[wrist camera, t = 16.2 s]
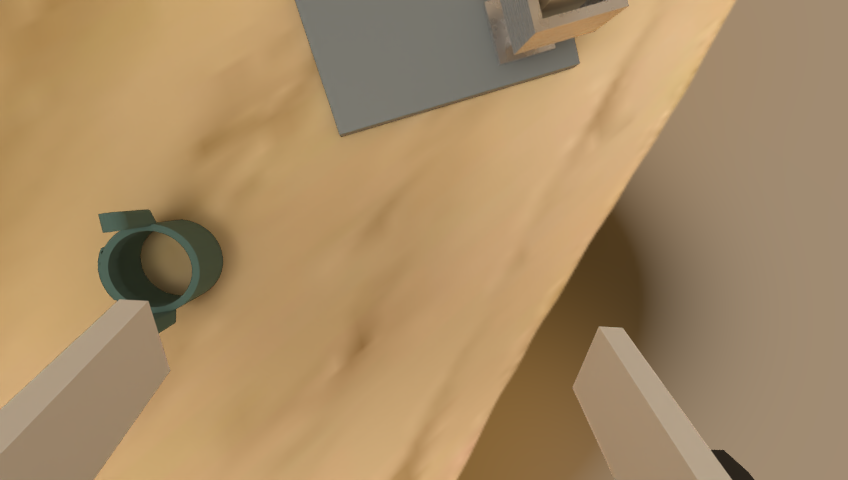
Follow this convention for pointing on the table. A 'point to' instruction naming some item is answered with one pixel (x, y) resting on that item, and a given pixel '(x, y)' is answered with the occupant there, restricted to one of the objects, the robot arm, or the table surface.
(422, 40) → the board
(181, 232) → the bracket
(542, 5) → the light brown tall block
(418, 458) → the table surface
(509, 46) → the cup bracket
